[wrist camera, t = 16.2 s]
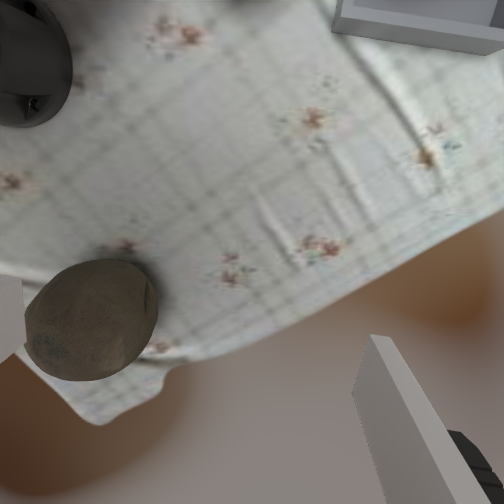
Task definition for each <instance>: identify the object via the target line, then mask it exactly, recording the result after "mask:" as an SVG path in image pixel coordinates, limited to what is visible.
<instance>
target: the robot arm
mask: <svg viewBox="0 0 504 504" xmlns="http://www.w3.org/2000/svg"><path fill="white" fill-rule="evenodd" d="M71 79H72V60H71V54H70V49H69V45H68V42H67V39H66V37H65V34H64V32H63V30H62V28H61V26H60V24H59V22H58V21H57V19H56V17H55V16H54V15H53V13H52V12H51V11H50V9H49V8H48V7H47V6H46V5H45V4H44V3H43V2H42V1H41V0H0V125H3V126H14V127H29V126H34V125H38V124H40V123H43V122H45V121H47V120H48V119H50V118H51V117H52V116H54V115H55V114H56V113H57V112H58V110H59V109H60V108H61V107H62V105H63V103H64V102H65V100H66V98H67V95H68V93H69V89H70V85H71ZM26 342H27V338H26V327H25V316H24V304H23V293H22V281H21V279H18V278H12V277H6V276H0V363H1V362H3V361H4V360H5V359H6V358H7V357H9V356H10V355H11V354H12V353H14V352H15V351H16V350H17V349H19V348H20V347H21V346H22V345H23V344H25V343H26ZM352 395H353V398H354V402H355V405H356V408H357V411H358V414H359V418H360V421H361V424H362V427H363V430H364V433H365V436H366V439H367V443H368V446H369V449H370V452H371V455H372V458H373V461H374V465H375V468H376V471H377V474H378V477H379V480H380V483H381V486H382V489H383V493H384V496H385V499H386V502H387V504H504V489H503V484H502V483H501V481H500V480H499V479H498V477H497V476H496V474H495V473H494V472H492V468H491V467H490V465H489V464H488V462H487V461H486V459H485V458H484V456H483V455H482V453H481V452H480V450H479V449H478V448H477V447H476V446H475V445H474V444H473V443H472V442H471V441H469V440H468V439H467V438H466V437H465V436H464V435H463V434H462V433H461V432H457V431H451V430H446V429H445V427H444V425H443V423H442V422H441V420H440V418H439V417H438V415H437V414H436V412H435V411H434V409H433V407H432V405H431V404H430V402H429V400H428V399H427V397H426V395H425V394H424V392H423V390H422V389H421V387H420V386H419V384H418V382H417V381H416V379H415V377H414V376H413V374H412V373H411V371H410V369H409V367H408V366H407V364H406V362H405V361H404V359H403V358H402V356H401V354H400V353H399V351H398V349H397V348H396V346H395V344H394V343H393V341H392V339H391V338H390V337H385V336H379V335H373V334H370V335H369V338H368V342H367V345H366V348H365V351H364V355H363V358H362V361H361V365H360V368H359V371H358V375H357V378H356V381H355V384H354V387H353V391H352Z"/></svg>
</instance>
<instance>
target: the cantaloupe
mask: <svg viewBox="0 0 504 504" xmlns="http://www.w3.org/2000/svg"><path fill="white" fill-rule="evenodd" d="M157 315H158V305H157V299H156V294H155V292H154V289H153V287H152V284H151V282H150V281H149V279H148V278H147V277H146V275H145V274H144V273H143V272H142V271H141V270H139V269H138V268H137V267H136V266H134V265H132V264H130V263H127V262H123V261H118V260H108V259H100V260H92V261H87V262H83V263H79V264H76V265H74V266H71V267H69V268H67V269H65V270H63V271H62V272H60V273H59V274H57V275H56V276H55V277H54V278H53V279H52V280H51V281H50V282H49V283H48V284H46V285H45V286H44V287H43V289H42V290H41V291H40V292H39V293H38V295H37V296H36V297H35V298H34V299H33V301H32V302H31V303H30V304H29V306H28V307H27V309H26V311H25V314H24V316H25V327H26V338H27V342H26V343H25V344H24V347H25V349H26V351H27V353H28V355H29V356H30V358H31V359H32V360H33V362H34V363H35V364H36V365H37V366H38V367H39V368H40V369H41V370H42V371H44V372H45V373H47V374H49V375H51V376H54V377H57V378H59V379H62V380H67V381H93V380H99V379H103V378H106V377H109V376H111V375H113V374H115V373H117V372H119V371H121V370H122V369H124V368H125V367H127V366H128V365H129V364H130V363H132V362H133V361H134V360H135V359H136V358H137V357H138V356H139V355H140V354H141V352H142V351H143V350H144V348H145V347H146V345H147V344H148V342H149V340H150V338H151V336H152V333H153V330H154V327H155V324H156V321H157Z"/></svg>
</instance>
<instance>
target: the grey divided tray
mask: <svg viewBox="0 0 504 504" xmlns="http://www.w3.org/2000/svg"><path fill="white" fill-rule="evenodd" d="M332 32H334V33H341V34H347V35H354V36H360V37H366V38H373V39H379V40H386V41H392V42H399V43H405V44H412V45H418V46H425V47H431V48H438V49H444V50H451V51H457V52H464V53H470V54H477V55H483V56H486V55H489V54H491V53H494V52H496V51H499V50H501V49H504V0H338V2H337V7H336V12H335V17H334V22H333V27H332Z"/></svg>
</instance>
